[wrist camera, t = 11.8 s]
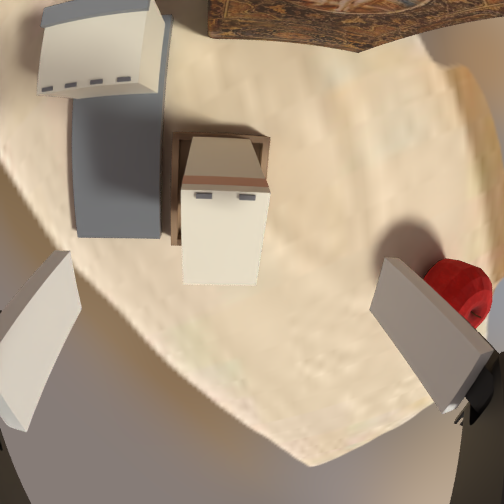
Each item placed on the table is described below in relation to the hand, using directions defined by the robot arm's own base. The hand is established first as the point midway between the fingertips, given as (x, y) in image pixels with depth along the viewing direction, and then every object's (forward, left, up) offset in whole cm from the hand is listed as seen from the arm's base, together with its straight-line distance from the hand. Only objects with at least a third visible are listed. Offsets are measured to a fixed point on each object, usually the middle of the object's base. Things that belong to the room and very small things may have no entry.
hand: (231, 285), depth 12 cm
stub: (-1, 0, -18) cm, 18 cm away
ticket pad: (-12, -10, -18) cm, 24 cm away
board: (-6, -10, -19) cm, 22 cm away
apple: (+10, +30, -20) cm, 37 cm away
